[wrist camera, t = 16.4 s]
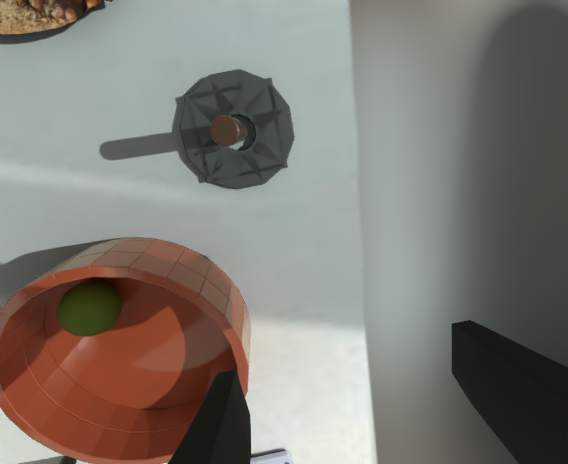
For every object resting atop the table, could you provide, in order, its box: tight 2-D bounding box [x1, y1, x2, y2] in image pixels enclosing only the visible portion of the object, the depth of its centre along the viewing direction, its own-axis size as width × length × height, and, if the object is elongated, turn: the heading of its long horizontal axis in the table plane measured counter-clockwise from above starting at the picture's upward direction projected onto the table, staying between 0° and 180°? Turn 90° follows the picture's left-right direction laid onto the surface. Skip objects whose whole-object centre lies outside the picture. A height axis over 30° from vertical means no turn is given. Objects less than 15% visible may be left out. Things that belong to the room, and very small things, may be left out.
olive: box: [57, 281, 122, 337], centre depth 16 cm, size 3×3×3 cm
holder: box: [180, 69, 294, 189], centre depth 16 cm, size 6×6×1 cm
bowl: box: [0, 238, 251, 464], centre depth 18 cm, size 13×13×4 cm
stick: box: [210, 115, 247, 147], centre depth 13 cm, size 1×1×6 cm
